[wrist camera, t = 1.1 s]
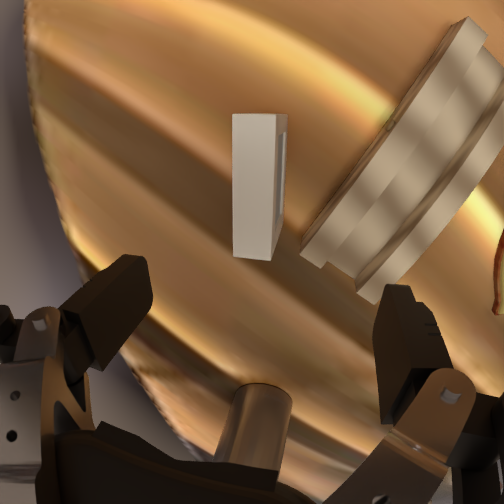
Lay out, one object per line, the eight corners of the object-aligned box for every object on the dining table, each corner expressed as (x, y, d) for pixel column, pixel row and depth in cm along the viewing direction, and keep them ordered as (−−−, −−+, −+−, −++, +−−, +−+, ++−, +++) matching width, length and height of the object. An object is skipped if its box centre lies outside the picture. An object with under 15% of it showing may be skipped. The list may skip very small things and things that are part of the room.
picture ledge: (369, 283, 31) (374, 305, 28) (299, 235, 31) (296, 252, 27) (513, 88, 18) (534, 89, 14) (449, 23, 17) (465, 13, 14)
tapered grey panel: (283, 224, 31) (270, 260, 24) (254, 221, 31) (233, 256, 24) (287, 114, 26) (275, 114, 19) (255, 113, 26) (232, 114, 19)
